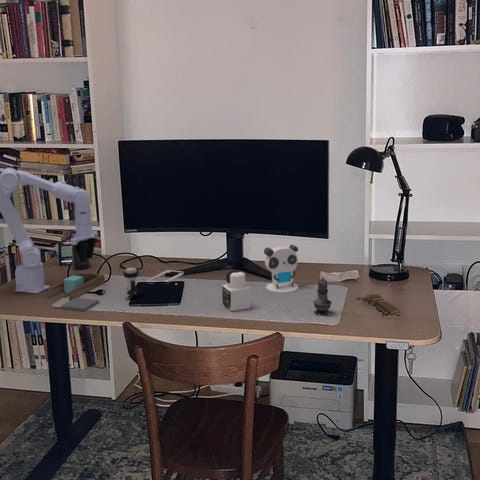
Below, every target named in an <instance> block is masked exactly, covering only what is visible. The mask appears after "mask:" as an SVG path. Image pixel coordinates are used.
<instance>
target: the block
mask: <svg viewBox="0 0 480 480" xmlns="http://www.w3.org/2000/svg"><path fill="white" fill-rule="evenodd" d="M63 281H64V289H65V290H64V293H65V294H69V291H71V290H73V289H75V288H77V287H79V286H81V285H83V284H85V281H84V277H83V276H75V275H71V276H69V277H66V278H64V279H63Z"/></svg>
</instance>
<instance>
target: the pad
mask: <svg viewBox="0 0 480 480" xmlns="http://www.w3.org/2000/svg"><path fill="white" fill-rule="evenodd" d="M99 303H100V299H94V298H93V299H92V298H86V297H85V298H82V297H77V298H74V299H72V300H68V301H67V302H65V303H63V304H61V305H60V309H61V310H68V311H77V312H86V311H88V310H89V309H92V308H93V307H95V306H97V305H98V304H99Z"/></svg>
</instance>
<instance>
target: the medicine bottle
mask: <svg viewBox="0 0 480 480" xmlns="http://www.w3.org/2000/svg"><path fill="white" fill-rule="evenodd" d="M221 286H222V287H221V290H222V291H221V292H222V293H221V295H222V296H221V297H222V306H223V307H224V308H226V309H227V310H228V311H229V312H235V311H242V310H247V309H249V310H250V309H251V287H249V286H248V285H246V273H245V271H242V270H237V269H235V270H229V271H228V272H227V273H226V284H222V285H221Z"/></svg>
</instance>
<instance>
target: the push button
mask: <svg viewBox="0 0 480 480" xmlns="http://www.w3.org/2000/svg"><path fill="white" fill-rule="evenodd" d="M139 273H140V270H138V269H137V268H136V267H127V268H125V270H124V271H122V274H123V277H124V278H125V279H126V280H127V287H126V288H127V290H126V291H125V293H126V295H125V300H128V299H129V300H131V299H130V298H131V297H132V296H133V295H134V293H135V294H136V293H137V292H138V291H139V292H140V290H139V288H138V287H137V285H136V282H137V281H136V278H137V277H138V276H139Z"/></svg>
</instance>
